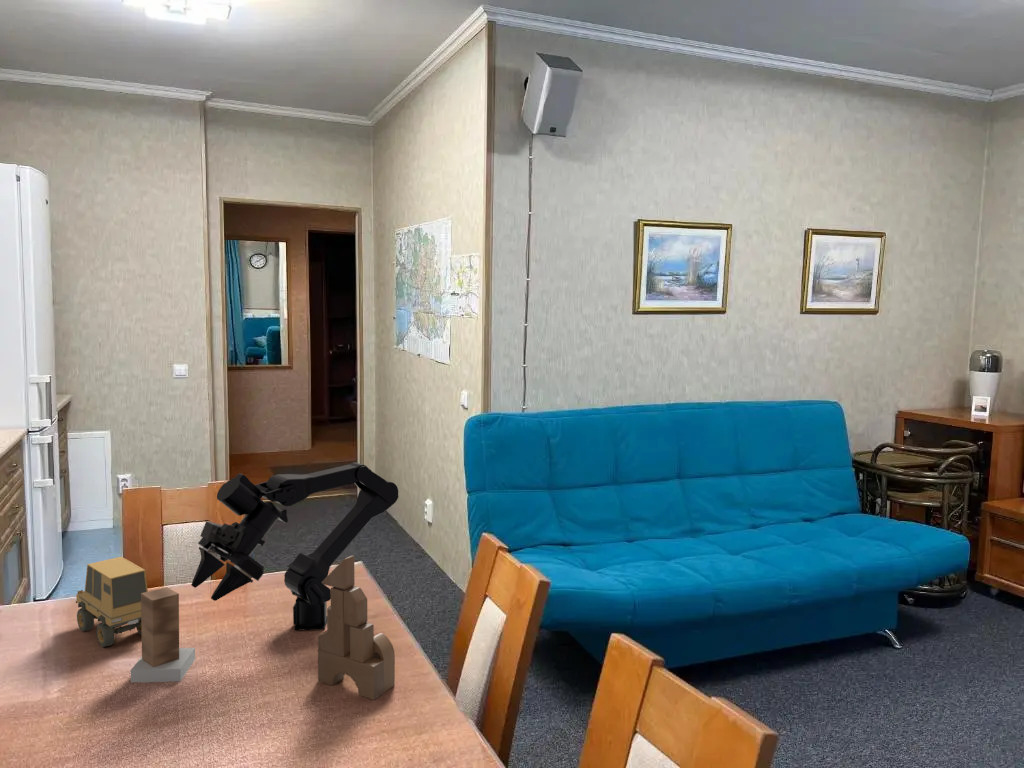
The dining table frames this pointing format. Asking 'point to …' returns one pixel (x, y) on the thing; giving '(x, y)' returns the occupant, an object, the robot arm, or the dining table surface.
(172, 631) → the walnut block
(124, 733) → the dining table surface
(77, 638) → the dining table surface
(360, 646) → the wooden toy
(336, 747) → the dining table surface
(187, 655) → the grey block
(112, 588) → the toy car
